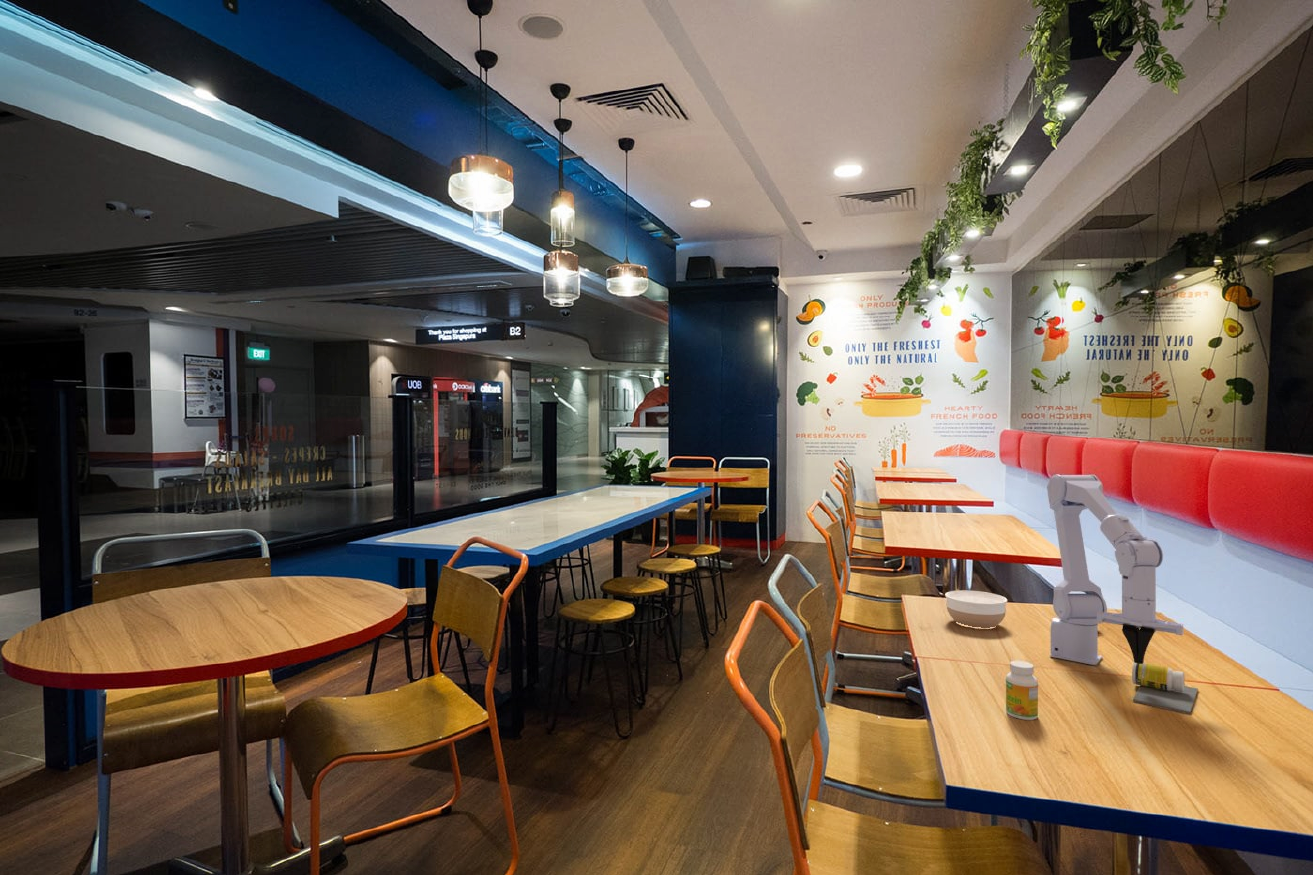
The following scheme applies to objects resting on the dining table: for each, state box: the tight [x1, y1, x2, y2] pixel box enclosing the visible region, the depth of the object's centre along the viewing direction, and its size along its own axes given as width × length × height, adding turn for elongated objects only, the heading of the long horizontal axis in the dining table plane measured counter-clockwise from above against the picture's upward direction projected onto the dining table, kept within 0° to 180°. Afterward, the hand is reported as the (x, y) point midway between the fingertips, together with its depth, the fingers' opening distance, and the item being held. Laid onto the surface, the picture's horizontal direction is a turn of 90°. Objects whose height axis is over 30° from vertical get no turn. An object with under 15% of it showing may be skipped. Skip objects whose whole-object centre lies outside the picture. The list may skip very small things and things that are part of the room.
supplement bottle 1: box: [1005, 660, 1039, 721], centre depth 126 cm, size 5×5×10 cm
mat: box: [1132, 685, 1199, 715], centre depth 135 cm, size 9×16×1 cm, turn 137°
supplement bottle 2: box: [1131, 662, 1186, 692], centre depth 138 cm, size 5×5×8 cm
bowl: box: [944, 589, 1008, 628], centre depth 188 cm, size 16×16×8 cm
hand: (1138, 662), depth 138 cm, fingers closed
